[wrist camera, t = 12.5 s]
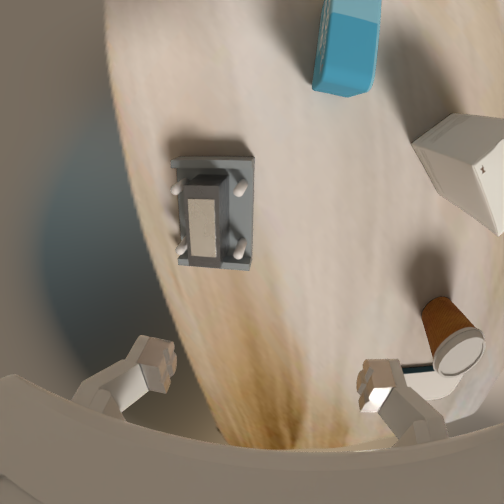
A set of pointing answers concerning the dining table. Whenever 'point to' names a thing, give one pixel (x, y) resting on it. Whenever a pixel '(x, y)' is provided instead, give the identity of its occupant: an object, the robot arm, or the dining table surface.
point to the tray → (238, 203)
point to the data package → (347, 47)
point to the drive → (207, 219)
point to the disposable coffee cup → (451, 338)
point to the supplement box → (467, 165)
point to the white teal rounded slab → (429, 382)
